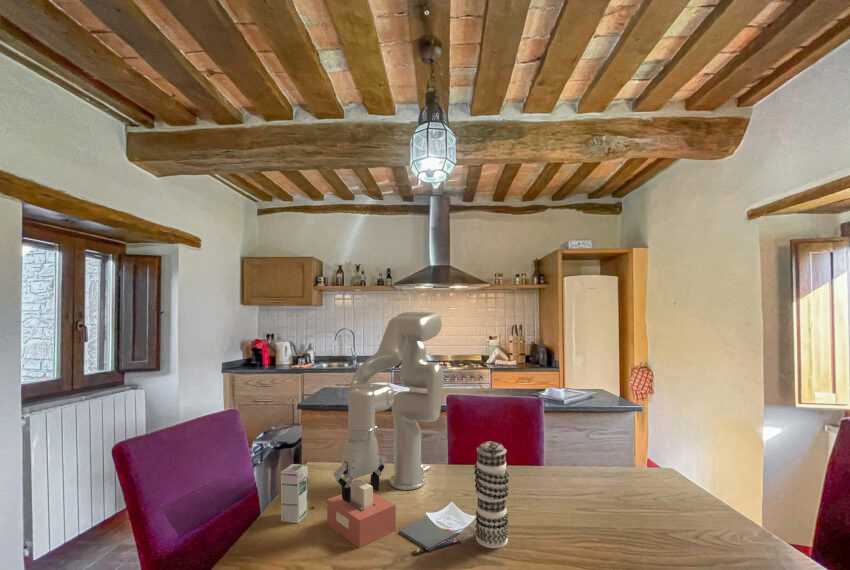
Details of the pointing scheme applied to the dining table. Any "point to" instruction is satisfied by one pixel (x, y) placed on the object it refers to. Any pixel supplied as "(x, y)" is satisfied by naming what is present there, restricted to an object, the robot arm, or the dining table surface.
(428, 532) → the coaster
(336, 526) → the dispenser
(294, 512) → the syrup box
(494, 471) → the white patterned cylinder
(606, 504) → the dining table surface
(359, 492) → the cream upright pillar
